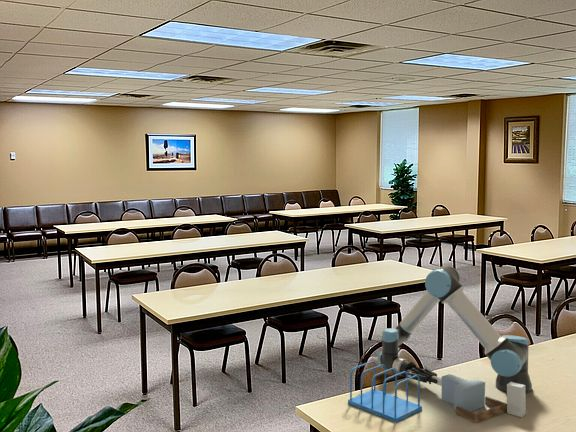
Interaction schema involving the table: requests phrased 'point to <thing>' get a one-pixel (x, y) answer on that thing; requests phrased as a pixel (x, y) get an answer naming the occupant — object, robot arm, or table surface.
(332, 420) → the table surface
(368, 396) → the file sorter
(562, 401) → the table surface
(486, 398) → the brown wooden tray
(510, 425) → the table surface
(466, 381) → the grey l-shaped block
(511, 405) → the skincare box
